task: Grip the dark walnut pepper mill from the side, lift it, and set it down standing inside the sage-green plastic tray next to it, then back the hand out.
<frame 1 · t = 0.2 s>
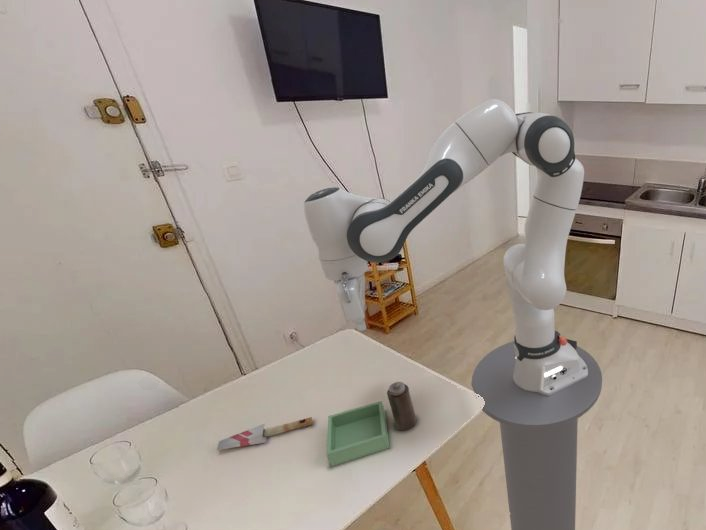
hand: (362, 318, 95), 28 cm above the table, tool pointing down, fingers open, 8 cm apart
pepper mill: (406, 423, 104), on the table
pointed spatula: (268, 437, 101), on the table
tray: (360, 437, 100), on the table
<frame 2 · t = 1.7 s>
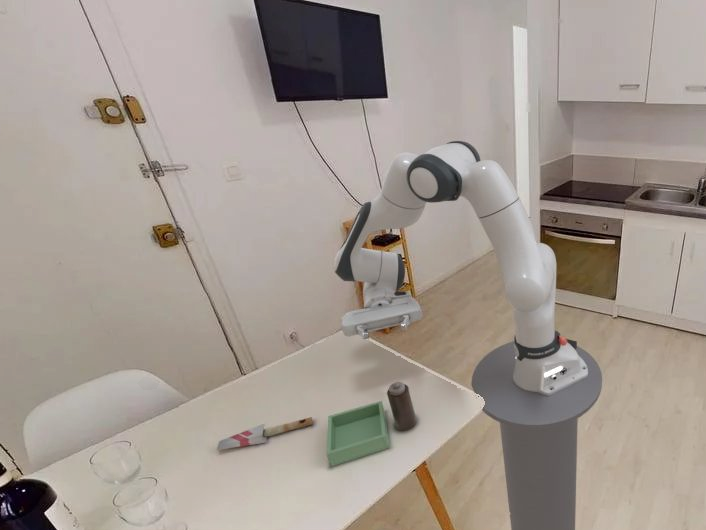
hand: (385, 332, 104), 20 cm above the table, tool horizontal, fingers open, 8 cm apart
nothing on the table moved.
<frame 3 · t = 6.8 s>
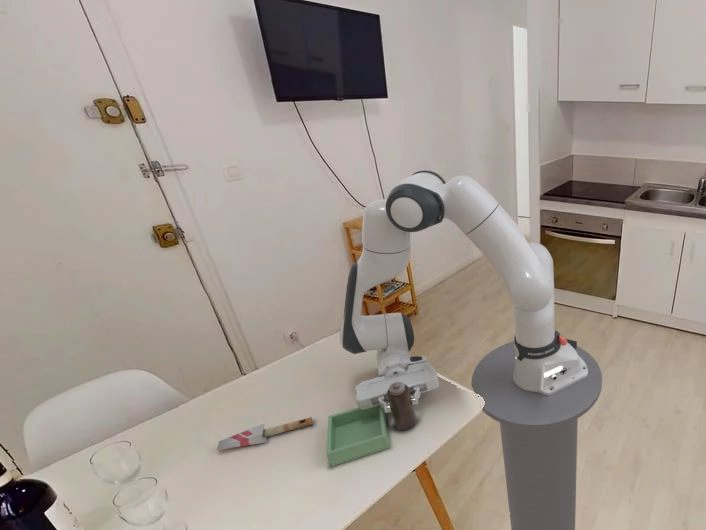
hand: (401, 406, 100), 7 cm above the table, tool horizontal, fingers closed on pepper mill, 5 cm apart
pepper mill: (406, 423, 104), on the table, touching gripper
everything else where it was.
when the fingers open (7 cm above the table, at t = 13.9 s): pepper mill stays where it is, resting on tray.
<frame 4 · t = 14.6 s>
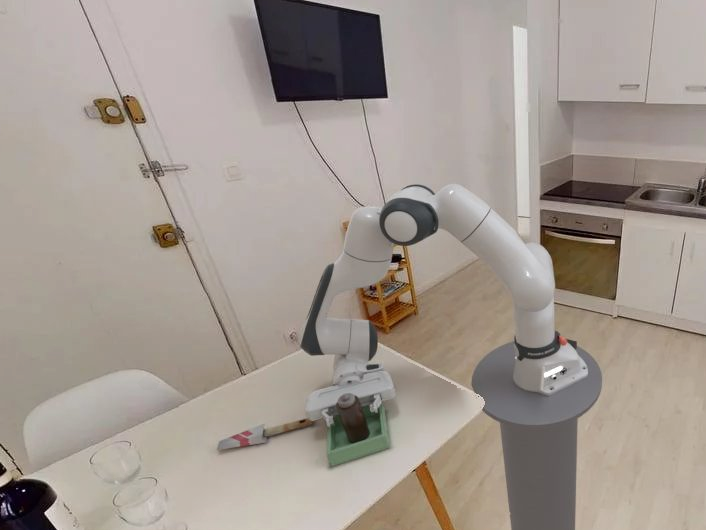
hand: (352, 417, 95), 8 cm above the table, tool horizontal, fingers open, 8 cm apart
pepper mill: (359, 435, 100), point 1 cm above the table, touching tray
everything else where it was.
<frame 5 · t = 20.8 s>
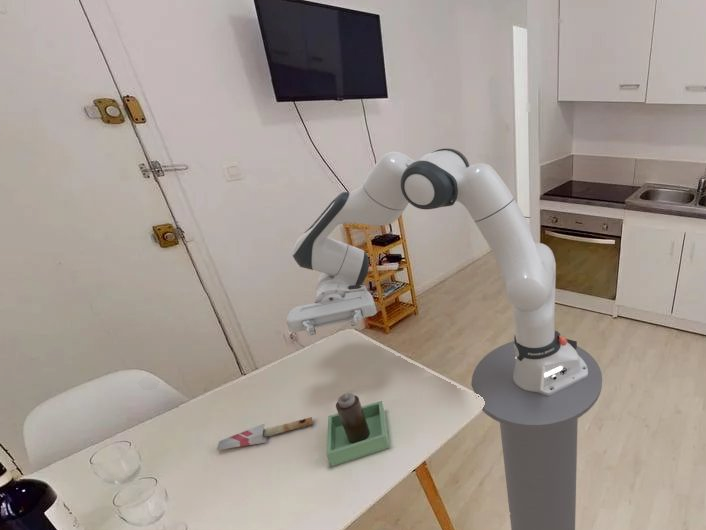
hand: (332, 328, 97), 25 cm above the table, tool horizontal, fingers open, 8 cm apart
nothing on the table moved.
at the end: pepper mill inside the target area in the tray (0.1 cm from its centre), point 0.6 cm above the tray's base; pepper mill tilted 0°; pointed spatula moved 0.2 cm from its start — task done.
